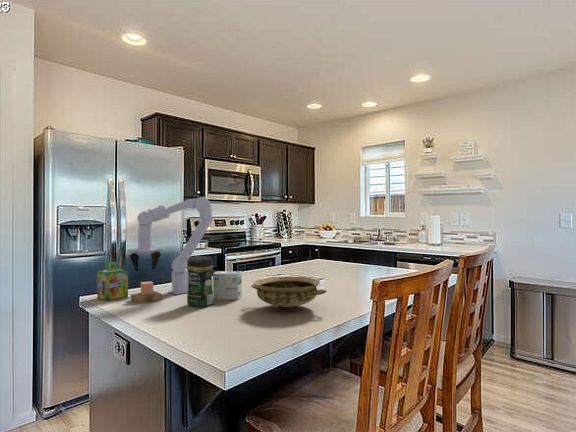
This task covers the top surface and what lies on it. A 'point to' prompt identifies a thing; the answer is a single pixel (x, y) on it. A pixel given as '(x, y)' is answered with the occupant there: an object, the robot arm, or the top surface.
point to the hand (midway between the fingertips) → (145, 270)
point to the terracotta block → (146, 288)
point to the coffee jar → (200, 281)
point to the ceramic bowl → (287, 291)
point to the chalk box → (112, 283)
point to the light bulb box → (227, 285)
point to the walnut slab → (146, 297)
